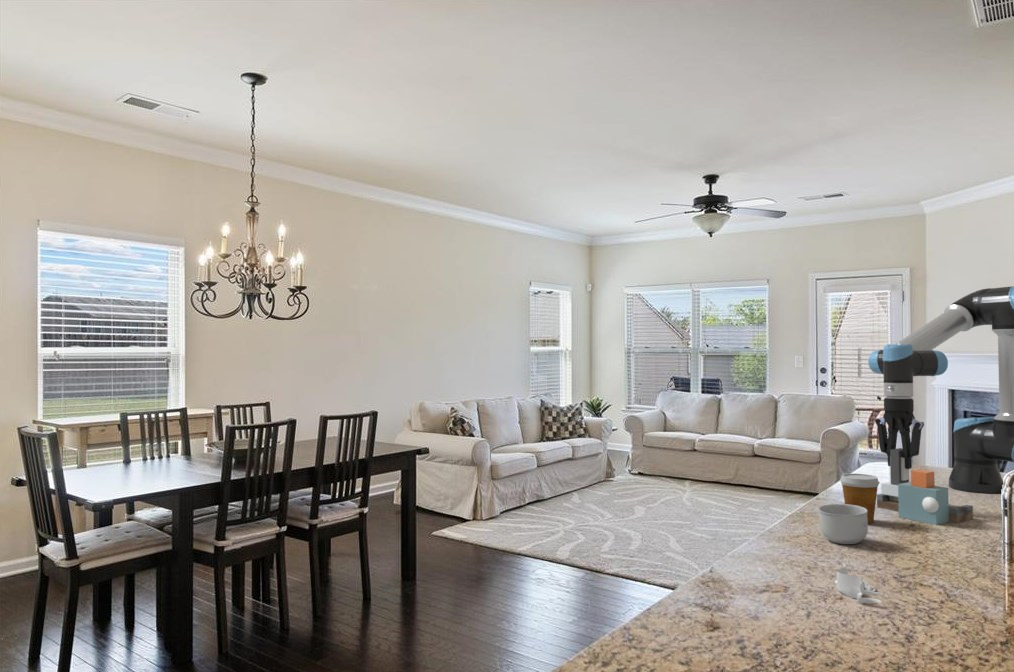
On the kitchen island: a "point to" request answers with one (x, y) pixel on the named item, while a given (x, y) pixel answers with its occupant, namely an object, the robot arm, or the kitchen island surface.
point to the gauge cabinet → (923, 503)
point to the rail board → (896, 508)
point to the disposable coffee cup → (861, 492)
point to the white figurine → (854, 587)
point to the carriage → (894, 473)
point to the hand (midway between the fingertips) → (899, 478)
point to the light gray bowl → (843, 523)
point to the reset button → (922, 478)
